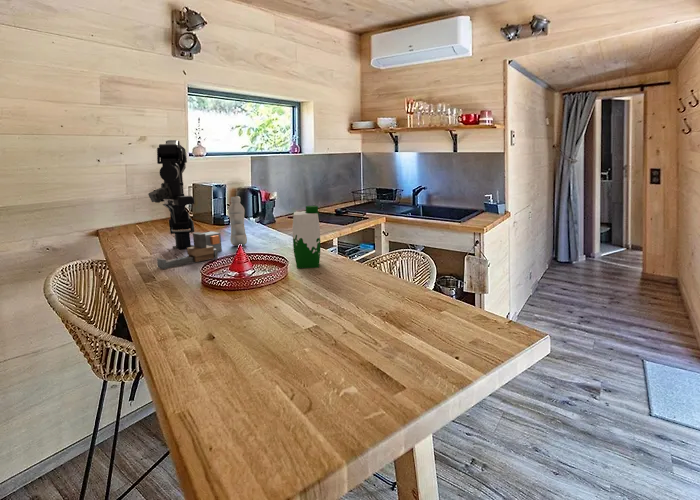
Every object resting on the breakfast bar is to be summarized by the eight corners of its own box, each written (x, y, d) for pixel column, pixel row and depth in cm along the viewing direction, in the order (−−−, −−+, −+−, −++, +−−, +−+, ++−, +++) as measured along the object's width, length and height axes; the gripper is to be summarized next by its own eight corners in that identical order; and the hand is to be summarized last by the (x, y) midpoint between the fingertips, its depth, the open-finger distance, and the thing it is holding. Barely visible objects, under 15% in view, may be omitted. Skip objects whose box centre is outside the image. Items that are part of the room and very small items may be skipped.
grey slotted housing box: (197, 251, 183) (196, 234, 182) (213, 248, 188) (212, 231, 187) (205, 253, 179) (204, 235, 178) (221, 250, 184) (220, 233, 183)
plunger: (203, 242, 183) (202, 234, 182) (209, 241, 185) (209, 233, 185) (212, 244, 178) (212, 236, 178) (219, 243, 180) (219, 235, 180)
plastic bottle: (243, 247, 189) (240, 198, 184) (228, 247, 190) (224, 198, 186) (250, 244, 195) (246, 196, 190) (234, 244, 196) (231, 196, 192)
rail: (157, 267, 159) (156, 258, 159) (211, 256, 174) (211, 248, 174) (163, 269, 157) (162, 260, 156) (217, 257, 172) (217, 249, 171)
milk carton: (321, 268, 154) (319, 207, 149) (293, 269, 153) (290, 208, 149) (320, 261, 162) (318, 204, 158) (294, 263, 162) (291, 205, 157)
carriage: (188, 259, 169) (185, 234, 167) (205, 256, 174) (203, 231, 172) (196, 262, 165) (194, 235, 163) (214, 258, 170) (212, 233, 168)
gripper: (138, 180, 168) (143, 223, 171) (162, 182, 155) (167, 228, 159) (167, 178, 176) (172, 219, 179) (193, 180, 163) (197, 224, 167)
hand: (176, 222), depth 171 cm, fingers closed
